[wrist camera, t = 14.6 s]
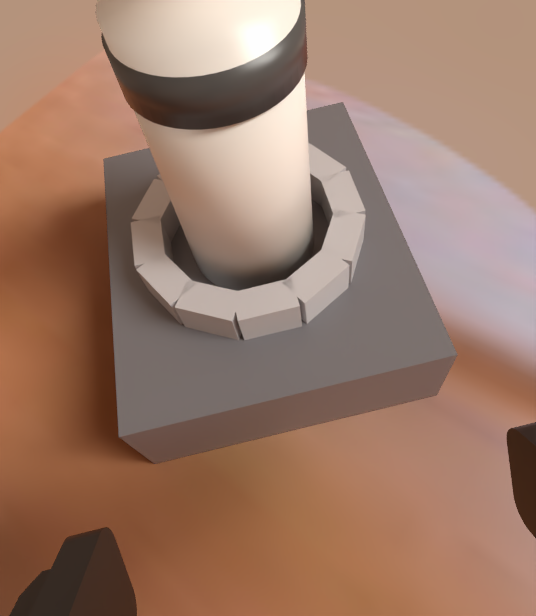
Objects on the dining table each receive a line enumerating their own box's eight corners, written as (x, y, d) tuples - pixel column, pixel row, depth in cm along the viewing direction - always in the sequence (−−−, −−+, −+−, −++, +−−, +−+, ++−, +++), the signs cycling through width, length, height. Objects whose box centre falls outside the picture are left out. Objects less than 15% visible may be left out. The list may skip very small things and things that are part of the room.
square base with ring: (154, 463, 21) (101, 424, 16) (131, 213, 28) (90, 134, 23) (436, 395, 21) (467, 335, 16) (341, 163, 28) (343, 74, 23)
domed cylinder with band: (200, 309, 19) (94, 78, 11) (184, 210, 22) (89, -39, 13) (330, 277, 19) (329, 23, 11) (299, 183, 22) (278, -82, 13)
